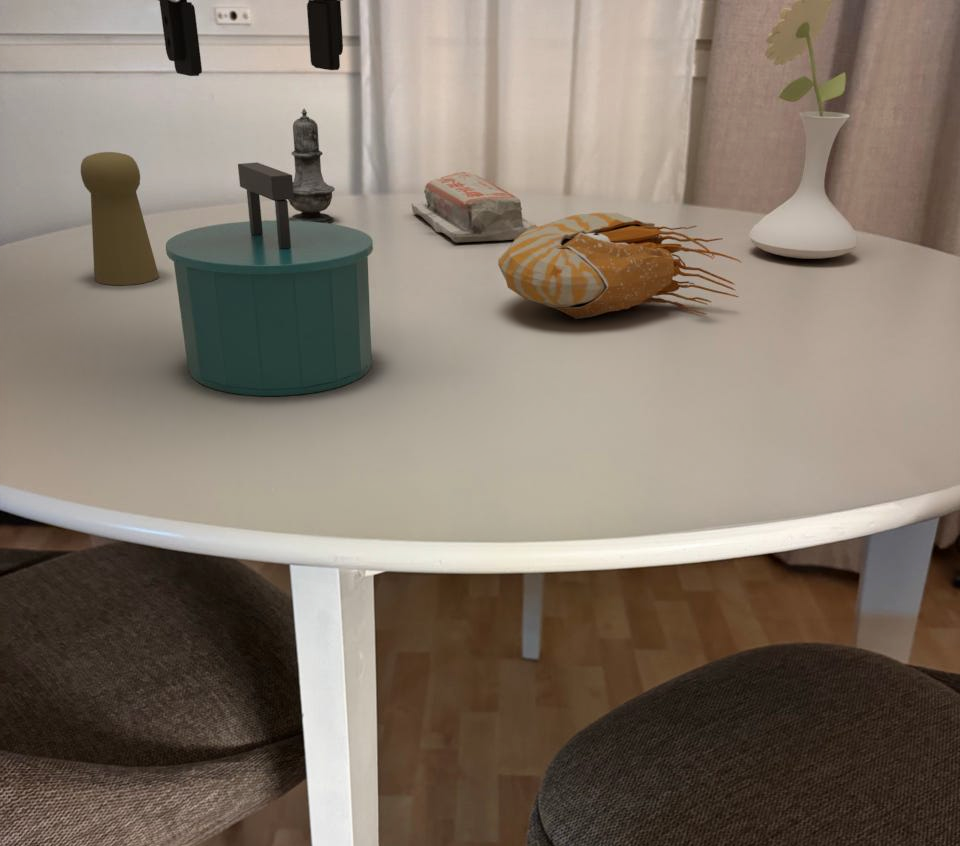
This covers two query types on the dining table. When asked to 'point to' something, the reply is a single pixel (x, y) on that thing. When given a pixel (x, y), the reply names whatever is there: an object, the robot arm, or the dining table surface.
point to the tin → (276, 329)
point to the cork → (117, 220)
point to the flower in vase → (807, 149)
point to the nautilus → (599, 264)
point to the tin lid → (268, 236)
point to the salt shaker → (309, 174)
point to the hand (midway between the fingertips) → (259, 71)
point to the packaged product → (471, 209)
